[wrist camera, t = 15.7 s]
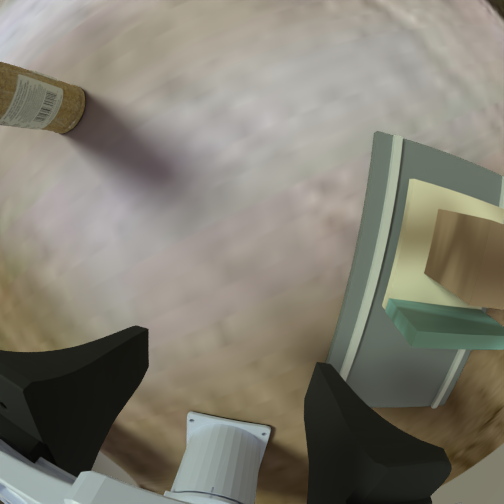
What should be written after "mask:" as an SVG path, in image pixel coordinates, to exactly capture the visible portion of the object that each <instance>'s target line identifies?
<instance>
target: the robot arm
mask: <svg viewBox="0 0 504 504" xmlns="http://www.w3.org/2000/svg"><path fill="white" fill-rule="evenodd" d="M148 367H149V358H148V329H147V328H143V327H140V326H132V327H130V328H127V329H124V330H122V331H119V332H117V333H114V334H112V335H109V336H106V337H104V338H101V339H98V340H95V341H92V342H89V343H86V344H83V345H79V346H75V347H71V348H66V349H61V350H54V351H45V352H12V351H2V350H0V500H1V501H2V502H4V503H5V504H255V497H256V488H257V480H258V471H259V468H260V464H261V461H262V458H263V455H264V452H265V449H266V446H267V442H268V439H269V436H270V432H271V428H270V427H269V426H267V425H260V424H253V423H247V422H241V421H235V420H230V419H224V418H219V417H214V416H210V415H205V414H201V413H196V412H189V413H188V415H187V448H186V451H185V453H184V456H183V459H182V462H181V464H180V467H179V470H178V472H177V475H176V478H175V481H174V483H173V486H172V489H171V491H170V492H169V491H165V493H164V496H163V495H160V494H157V493H154V492H151V491H148V490H145V489H142V488H139V487H136V486H133V485H131V484H128V483H126V482H123V481H120V480H118V479H116V478H113V477H111V476H108V475H105V474H102V473H99V472H96V471H91V469H92V467H93V464H94V462H95V460H96V457H97V455H98V452H99V450H100V448H101V446H102V444H103V442H104V439H105V437H106V435H107V434H108V432H109V430H110V428H111V426H112V424H113V422H114V421H115V419H116V417H117V416H118V414H119V413H120V412H121V410H122V409H123V407H124V406H125V405H126V403H127V402H128V400H129V399H130V398H131V396H132V395H133V393H134V392H135V390H136V389H137V388H138V386H139V385H140V383H141V381H142V379H143V377H144V375H145V373H146V371H147V369H148ZM192 419H193V420H192ZM304 422H305V431H306V440H307V449H308V458H309V482H308V499H307V504H432V500H431V497H430V496H431V495H432V494H433V493H434V492H435V491H436V490H437V489H438V488H439V487H440V486H441V485H442V484H443V483H444V481H445V480H446V479H447V477H448V476H449V474H450V472H451V463H450V461H449V459H448V457H447V455H446V453H445V451H444V449H443V448H441V447H438V446H435V445H432V444H429V443H427V442H424V441H421V440H419V439H417V438H415V437H413V436H411V435H409V434H407V433H405V432H403V431H402V430H400V429H398V428H397V427H395V426H394V425H392V424H391V423H389V422H388V421H386V420H385V419H383V418H382V417H381V416H380V415H378V414H377V413H376V412H375V411H373V410H372V409H371V408H370V407H369V406H368V405H367V404H366V403H365V402H364V401H363V400H362V399H361V398H360V397H359V396H358V395H357V394H356V393H355V392H354V391H353V390H352V389H351V387H350V386H349V385H348V384H347V383H346V382H345V380H344V379H343V378H342V377H341V376H340V374H339V373H338V372H337V371H336V369H335V368H334V367H333V366H332V365H331V364H328V363H320V362H317V363H316V366H315V369H314V372H313V375H312V378H311V381H310V384H309V387H308V390H307V393H306V396H305V400H304ZM457 504H462V503H457Z"/></svg>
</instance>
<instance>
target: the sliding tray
mask: <svg viewBox="0 0 504 504" xmlns="http://www.w3.org/2000/svg"><path fill="white" fill-rule="evenodd" d="M438 209H442V210H447V211H452V212H457V213H462V214H467V215H471V216H476V217H480V218H485V219H489V220H493V221H495V222H498V223H501V224H503V219H504V209H503V208H500V207H498V206H495V205H492V204H490V203H487V202H484V201H482V200H479V199H476V198H473V197H470V196H468V195H465V194H462V193H459V192H456V191H453V190H450V189H447V188H444V187H440V186H437V185H434V184H431V183H427V182H424V181H420V180H417V179H409V186H408V192H407V198H406V204H405V210H404V216H403V221H402V226H401V231H400V236H399V241H398V245H397V250H396V254H395V258H394V263H393V267H392V271H391V275H390V278H389V282H388V286H387V290H386V293H385V297H384V300H383V304H382V307H383V308H384V309H385V312H386V314H387V315H388V316H389V318H390V319H391V320H392V322H393V323H394V324H395V326H396V327H397V328H398V330H399V331H400V332H401V334H402V335H403V336H404V338H405V339H406V341H407V342H408V343H409V345H410V346H411V347H416V348H435V349H470V350H499V349H504V327H503V326H502V325H500V324H499V323H498V322H496V321H495V320H494V319H492V318H491V317H490V316H488V315H487V314H486V313H484V312H483V311H482V310H480V309H481V307H477V306H470V305H468V304H467V303H465V302H464V301H463V300H461V299H460V298H458V297H457V296H456V295H454V294H453V293H451V292H450V291H449V290H447V289H446V288H444V287H443V286H442V285H440V284H439V283H437V282H436V281H434V280H433V279H432V278H430V277H429V276H427V275H426V274H424V271H425V267H426V263H427V259H428V255H429V251H430V247H431V242H432V238H433V233H434V228H435V223H436V218H437V213H438Z"/></svg>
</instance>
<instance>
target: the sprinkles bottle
mask: <svg viewBox="0 0 504 504" xmlns="http://www.w3.org/2000/svg"><path fill="white" fill-rule="evenodd" d="M84 108H85V95H84V92H83V90H82V89H81V88H80V87H78V86H76V85H70V84H67V83H64V82H62V81H58V80H57V79H56V78H53V77H51V76H48V75H45V74H42V73H39V72H36V71H33V70H26V69H23V68H21V67H17V66H14V65H10V64H7V63H3V62H0V125H4V126H13V127H21V128H29V129H42V130H49V131H54V132H55V133H60V134H62V133H66V132H68V131H70V130H71V129H72V128H73V127H75V126H76V124H77V123H78V121H79V120H80V118H81V116H82V114H83V111H84Z"/></svg>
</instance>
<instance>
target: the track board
mask: <svg viewBox="0 0 504 504" xmlns="http://www.w3.org/2000/svg"><path fill="white" fill-rule="evenodd" d="M409 179H417V180H420V181H424V182H427V183H431V184H434V185H437V186H440V187H444V188H447V189H450V190H453V191H456V192H459V193H462V194H465V195H468V196H470V197H473V198H476V199H479V200H482V201H484V202H487V203H490V204H492V205H495V206H498V207H500V208H503V209H504V176H501V175H499V174H497V173H495V172H493V171H490V170H488V169H486V168H483V167H481V166H479V165H476V164H474V163H472V162H469V161H467V160H464V159H462V158H459V157H456V156H454V155H451V154H448V153H446V152H443V151H440V150H437V149H435V148H432V147H429V146H426V145H423V144H420V143H417V142H413V141H410V140H407V139H404V138H403V137H402V136H398V135H390V134H386V133H383V132H379V131H377V132H375V133H374V139H373V147H372V155H371V163H370V170H369V177H368V184H367V190H366V196H365V202H364V208H363V214H362V219H361V224H360V230H359V235H358V240H357V244H356V249H355V254H354V259H353V263H352V267H351V272H350V276H349V280H348V284H347V289H346V293H345V297H344V300H343V304H342V308H341V312H340V316H339V319H338V323H337V326H336V330H335V333H334V337H333V340H332V344H331V347H330V350H329V354H328V357H327V360H326V363H328V364H331V365H332V366H333V367H334V368H335V369H336V371H337V372H338V373H339V374H340V376H341V377H342V378H343V379H344V380H345V382H346V383H347V384H348V385H349V386H350V387H351V389H352V390H353V391H354V392H355V393H356V394H357V395H358V396H359V397H360V398H361V399H362V400H363V401H364V402H365V403H366V404H367V405H368V406H369V407H422V406H431V408H437V406H438V405H444V404H445V402H446V400H447V399H448V397H449V395H450V393H451V391H452V389H453V387H454V386H455V384H456V382H457V380H458V378H459V376H460V374H461V372H462V370H463V368H464V365H465V363H466V361H467V359H468V357H469V355H470V352H471V350H470V349H435V348H416V347H411V346H410V345H409V343H408V342H407V341H406V339H405V338H404V336H403V335H402V334H401V332H400V331H399V330H398V328H397V327H396V326H395V324H394V323H393V322H392V320H391V319H390V318H389V316H388V315H387V314H386V312H385V309H384V308H383V307H382V304H383V300H384V297H385V293H386V290H387V286H388V282H389V278H390V275H391V271H392V267H393V263H394V258H395V254H396V250H397V245H398V241H399V236H400V231H401V226H402V221H403V216H404V210H405V204H406V198H407V192H408V186H409ZM503 224H504V219H503ZM487 309H488V308H485V307H481V309H480V310H482V311H483V312H484V313H486V312H487Z"/></svg>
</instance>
